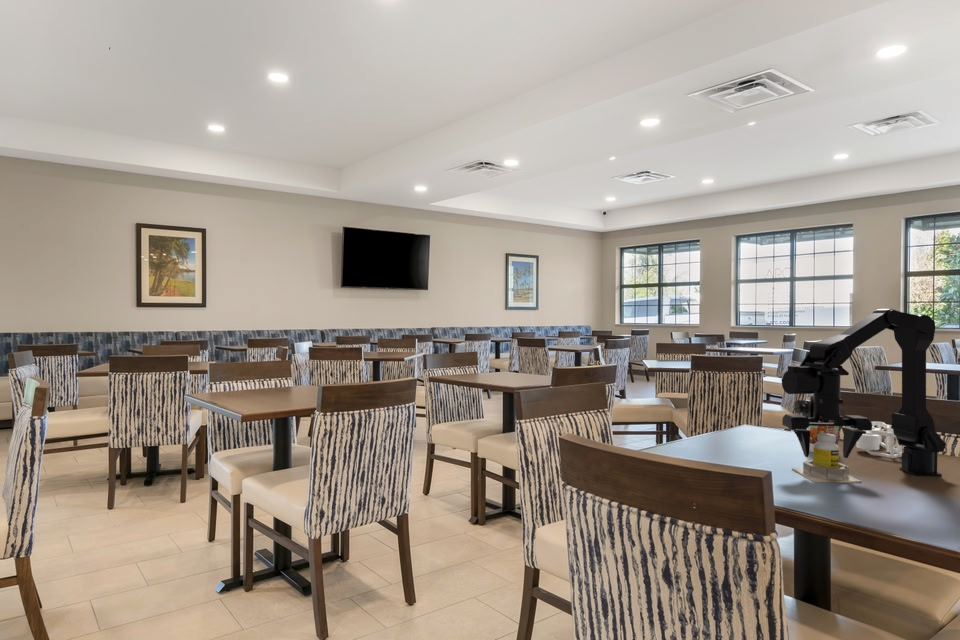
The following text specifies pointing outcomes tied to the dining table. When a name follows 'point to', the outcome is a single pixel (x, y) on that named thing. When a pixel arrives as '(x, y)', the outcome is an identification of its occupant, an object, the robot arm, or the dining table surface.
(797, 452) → the dining table surface
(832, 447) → the supplement bottle
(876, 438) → the skeletal toy car
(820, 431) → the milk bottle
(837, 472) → the octagonal ring stand
